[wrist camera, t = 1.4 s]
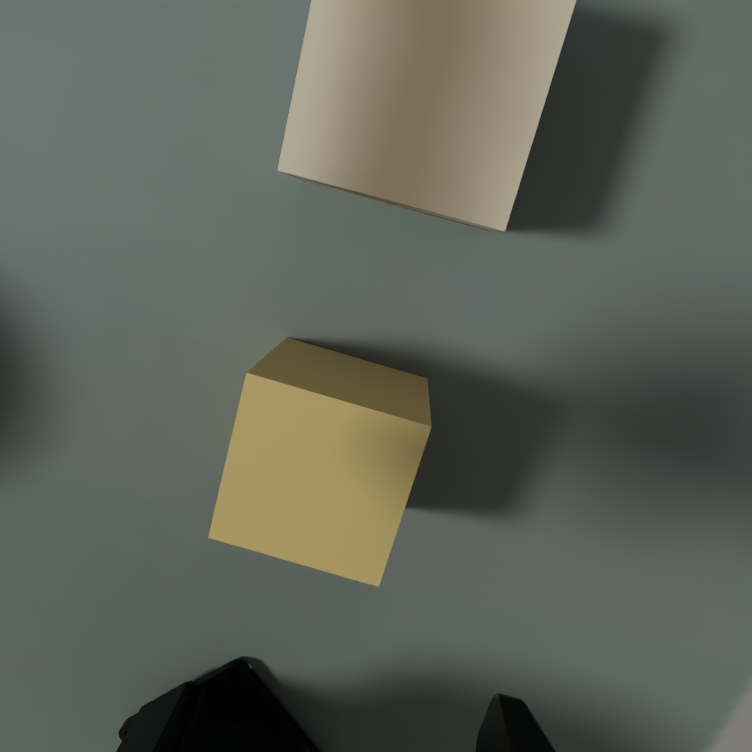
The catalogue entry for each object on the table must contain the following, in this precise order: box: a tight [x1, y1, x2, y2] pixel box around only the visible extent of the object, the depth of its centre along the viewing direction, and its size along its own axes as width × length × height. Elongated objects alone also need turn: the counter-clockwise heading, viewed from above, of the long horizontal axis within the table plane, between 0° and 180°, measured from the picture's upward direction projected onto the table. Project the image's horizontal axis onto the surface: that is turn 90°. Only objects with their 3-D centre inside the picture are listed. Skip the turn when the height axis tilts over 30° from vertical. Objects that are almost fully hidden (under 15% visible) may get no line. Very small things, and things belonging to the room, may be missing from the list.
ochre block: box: [208, 338, 432, 587], centre depth 18 cm, size 5×5×5 cm
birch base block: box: [278, 0, 576, 231], centre depth 16 cm, size 6×6×4 cm
